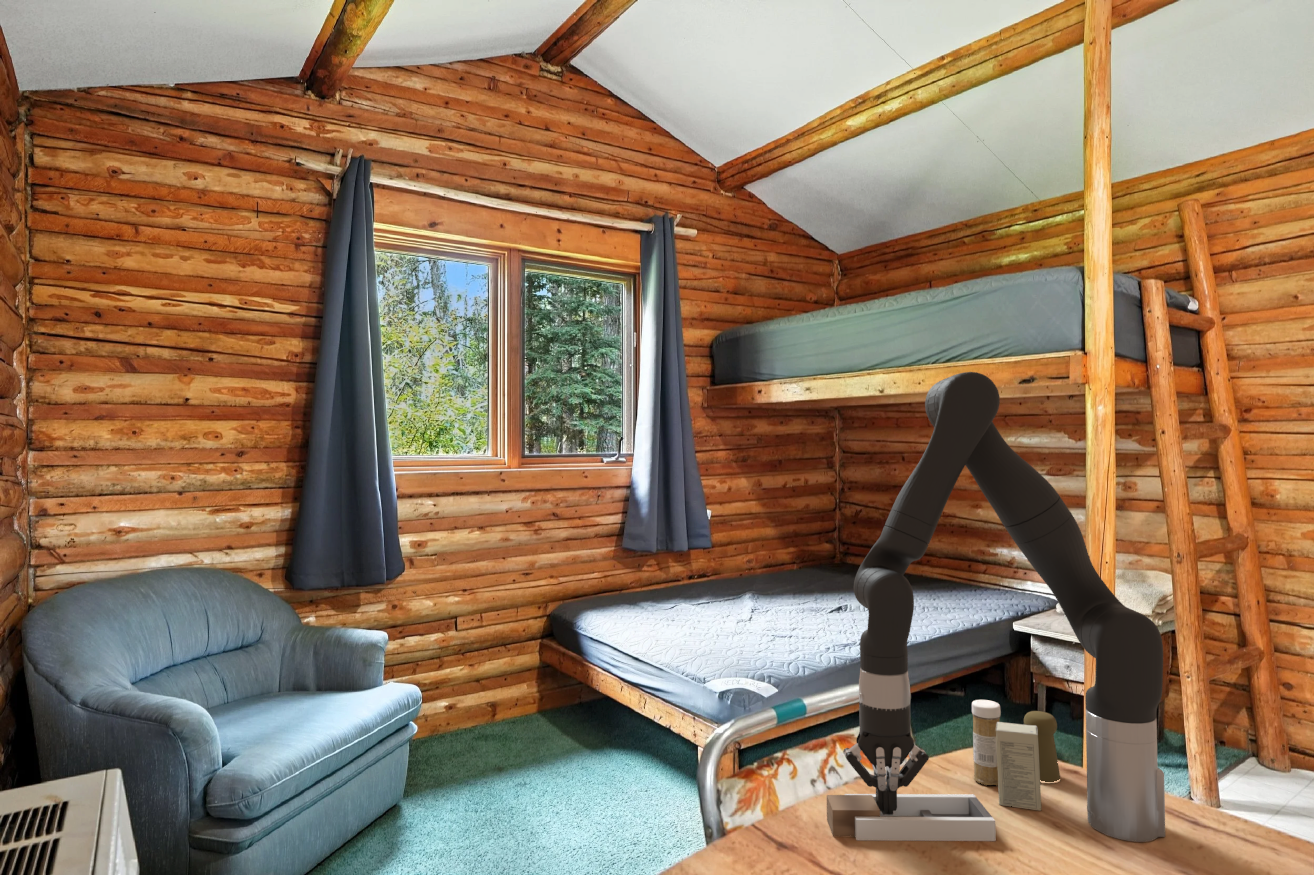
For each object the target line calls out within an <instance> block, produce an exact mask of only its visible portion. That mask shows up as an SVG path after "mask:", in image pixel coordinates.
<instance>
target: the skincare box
mask: <svg viewBox="0 0 1314 875" xmlns="http://www.w3.org/2000/svg"><path fill="white" fill-rule="evenodd" d="M996 746H997V768H998V785H997V788H998V804H999V806H1006V807H1011V806H1012V808H1013V807H1014V808H1020V809H1026V810H1031V811H1032V810H1033V811H1042V797H1041V796H1042V795H1041V794H1042V793H1041V791H1042V790H1041V783H1040V769H1039V748H1038V730H1037V726H1034V725H1024V723H1023V724H1022V723H1013V722H1012V723H1011V722H1003V721H999V722H997V724H996Z"/></svg>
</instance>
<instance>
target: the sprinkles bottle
mask: <svg viewBox="0 0 1314 875" xmlns="http://www.w3.org/2000/svg"><path fill="white" fill-rule="evenodd" d="M971 713H972V722H973V726H972V729H973V730H972V744H973V745H972V750H973V768H974V769H973V773H974V774H973V780H974V781H975V782H976V781H977V782H976V783H978V784H980V783H981V784H980V785H983V784H984V785H983V786H987V785H996V786H998V768H997V746H996V724H997V722H1000V719H1001V713H1002V712H1001V705H1000V704H999V702H996V701H993V700H988V699H975V700H973V701H972V702H971Z"/></svg>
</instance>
